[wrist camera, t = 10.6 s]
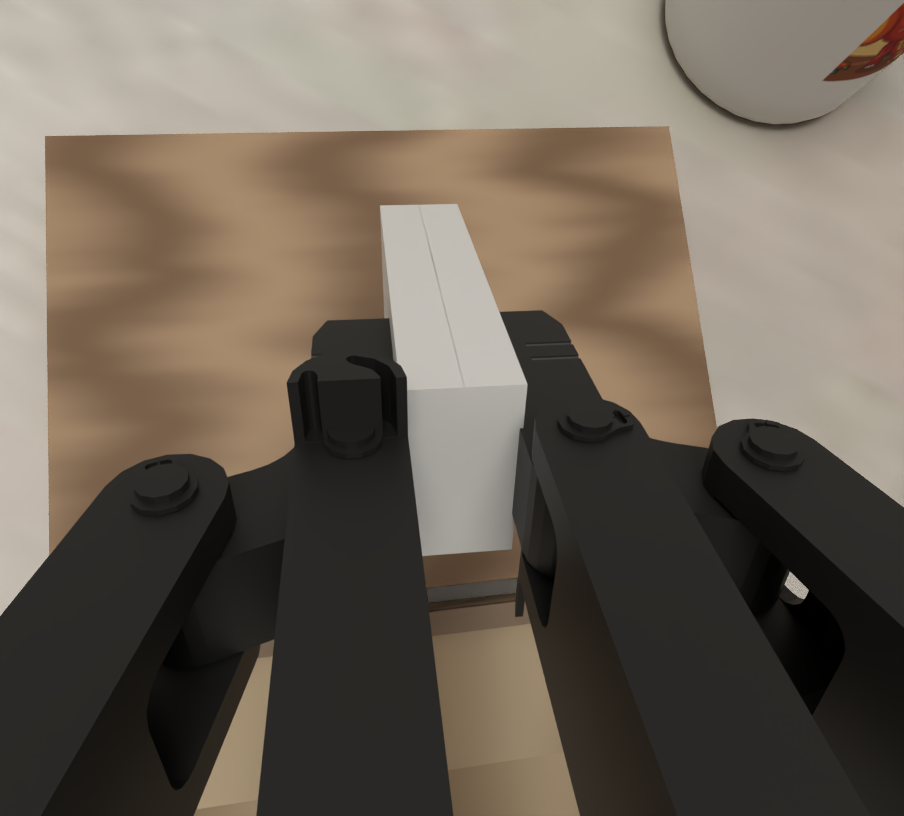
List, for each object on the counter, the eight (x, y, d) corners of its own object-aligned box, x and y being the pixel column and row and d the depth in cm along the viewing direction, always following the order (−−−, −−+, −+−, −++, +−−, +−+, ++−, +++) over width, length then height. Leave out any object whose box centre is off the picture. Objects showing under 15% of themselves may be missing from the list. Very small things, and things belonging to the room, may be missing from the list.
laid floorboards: (708, 570, 21) (742, 574, 19) (751, 854, 20) (792, 887, 18) (78, 644, 19) (48, 658, 17) (84, 978, 17) (52, 1032, 15)
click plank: (709, 550, 21) (648, 151, 23) (736, 552, 20) (668, 126, 22) (74, 623, 18) (67, 164, 20) (50, 631, 17) (44, 136, 19)
